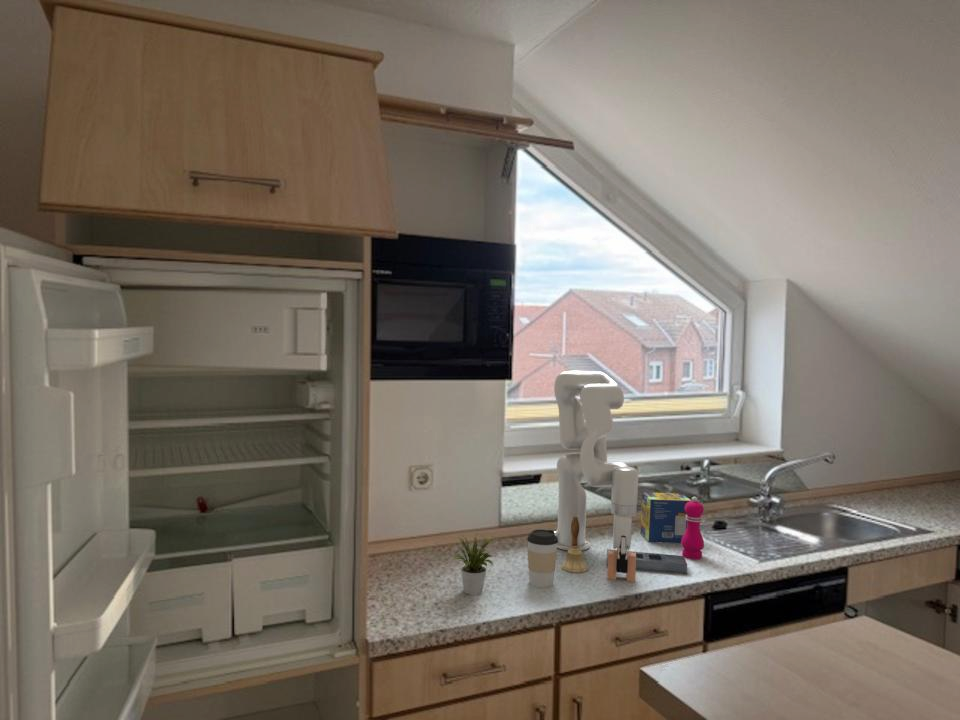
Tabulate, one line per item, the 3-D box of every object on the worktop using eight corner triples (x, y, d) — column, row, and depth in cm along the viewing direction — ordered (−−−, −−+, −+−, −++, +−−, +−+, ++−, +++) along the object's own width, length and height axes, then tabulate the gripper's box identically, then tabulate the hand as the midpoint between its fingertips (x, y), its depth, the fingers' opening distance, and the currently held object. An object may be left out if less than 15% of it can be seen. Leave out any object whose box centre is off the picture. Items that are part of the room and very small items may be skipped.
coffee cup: (534, 590, 183) (536, 537, 182) (520, 579, 191) (521, 528, 190) (562, 586, 186) (564, 534, 186) (547, 575, 195) (548, 525, 194)
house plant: (441, 601, 173) (443, 540, 173) (444, 581, 187) (445, 525, 186) (495, 602, 173) (497, 542, 173) (493, 583, 187) (495, 526, 187)
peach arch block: (607, 578, 193) (608, 553, 193) (607, 575, 197) (608, 550, 196) (635, 581, 192) (636, 556, 192) (634, 577, 195) (635, 552, 195)
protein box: (639, 533, 241) (641, 492, 240) (680, 534, 241) (682, 493, 241) (647, 542, 230) (649, 499, 230) (691, 543, 231) (693, 500, 230)
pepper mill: (704, 560, 212) (707, 500, 212) (681, 558, 214) (684, 498, 213) (702, 553, 219) (704, 495, 219) (679, 551, 221) (682, 493, 220)
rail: (607, 566, 204) (607, 557, 204) (606, 558, 212) (607, 549, 212) (686, 574, 200) (687, 564, 200) (683, 565, 207) (683, 556, 207)
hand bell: (563, 573, 197) (565, 520, 197) (558, 563, 206) (560, 513, 205) (590, 573, 198) (592, 521, 197) (584, 563, 206) (586, 513, 206)
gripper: (610, 501, 203) (608, 559, 203) (611, 515, 186) (609, 578, 187) (635, 502, 201) (632, 561, 202) (638, 517, 185) (635, 581, 185)
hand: (621, 568), depth 194 cm, fingers open, 4 cm apart
